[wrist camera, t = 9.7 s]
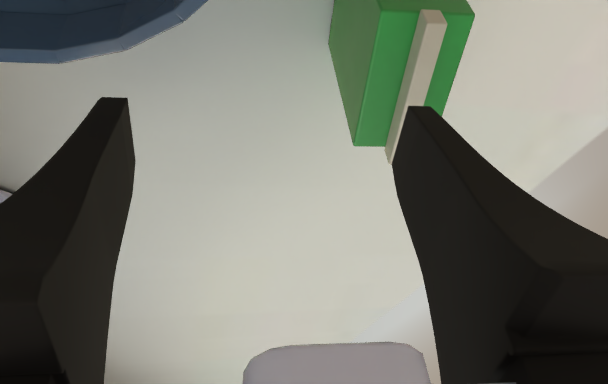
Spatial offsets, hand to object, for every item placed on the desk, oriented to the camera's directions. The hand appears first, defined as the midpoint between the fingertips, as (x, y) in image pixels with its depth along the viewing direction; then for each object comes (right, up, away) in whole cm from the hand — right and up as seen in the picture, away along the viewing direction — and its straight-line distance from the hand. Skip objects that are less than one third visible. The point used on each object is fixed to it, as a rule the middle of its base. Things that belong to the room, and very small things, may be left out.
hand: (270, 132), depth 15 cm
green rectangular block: (+4, +6, +8) cm, 11 cm away
